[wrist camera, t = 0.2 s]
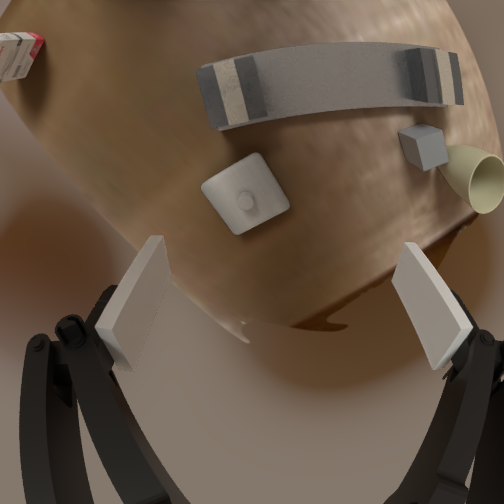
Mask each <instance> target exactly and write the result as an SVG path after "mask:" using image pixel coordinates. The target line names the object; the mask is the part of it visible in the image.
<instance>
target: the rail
mask: <svg viewBox="0 0 504 504" xmlns="http://www.w3.org/2000/svg"><path fill="white" fill-rule="evenodd" d="M201 67H202V68H201V69H198V70H195V71H196V75H197V79H198V82H199V86H200V89H201V93H202V97H203V100H204V104H205V107H206V111H207V115H208V118H209V122H210V125H211V129H215V128H218V129H219V131H223V130H227V129H231V128H235V127H240V126H244V125H249V124H253V123H258V122H263V121H268V120H273V119H279V118H285V117H291V116H297V115H304V114H311V113H318V112H326V111H335V110H345V109H357V108H372V107H396V106H429V107H448V105H455V104H456V105H464V101H463V90H462V82H461V74H460V67H459V61H458V56H457V54H456V53H451V52H448V51H445V50H440V49H439V48H434V47H427V46H419V45H410V44H398V43H381V42H340V43H322V44H310V45H301V46H292V47H285V48H278V49H272V50H266V51H261V52H255V53H250V54H246V55H241V56H237V57H232V58H228V59H224V60H220V61H217V62H213V63H209V64H206V65H203V66H201Z"/></svg>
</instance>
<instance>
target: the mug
mask: <svg viewBox="0 0 504 504" xmlns="http://www.w3.org/2000/svg"><path fill="white" fill-rule="evenodd" d="M446 150H447V154H448V160H449V162H446V163H444V164H441V165H439V166H438V168H439V169H440V171H441V173H442V174H443V176H444V177H445V179H446V181H447V182H448V184H449V185H450V186H451V188H452V189H453V190H454V191H455V192H456V193H457V194H458V195H459V196H460V197H461V198H462V199H463V200H464V201H466V202H467V203H468V204H469V205H470V206H471V207H472V208H473V209H474V210H475V211H476V212H478V213H481V214H486V213H489V212H491V211H492V210H494V209H495V208H496V207H497V206H498V204H499V203H500V202H501V200H502V198H503V196H504V163H503V161H502V160H501V159H500V158H499V157H498V156H496V155H494V154H491V153H489V152H486V151H483V150H481V149H478V148H475V147H472V146H467V145H453V146H446Z"/></svg>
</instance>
